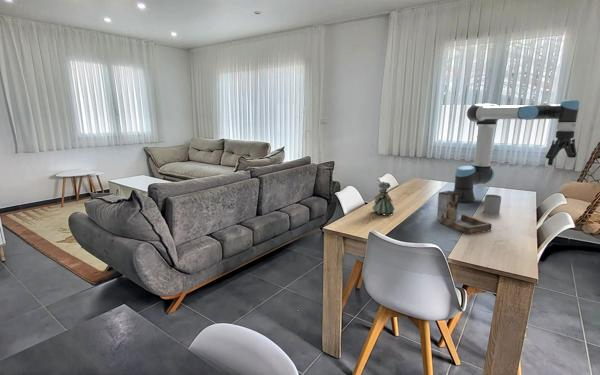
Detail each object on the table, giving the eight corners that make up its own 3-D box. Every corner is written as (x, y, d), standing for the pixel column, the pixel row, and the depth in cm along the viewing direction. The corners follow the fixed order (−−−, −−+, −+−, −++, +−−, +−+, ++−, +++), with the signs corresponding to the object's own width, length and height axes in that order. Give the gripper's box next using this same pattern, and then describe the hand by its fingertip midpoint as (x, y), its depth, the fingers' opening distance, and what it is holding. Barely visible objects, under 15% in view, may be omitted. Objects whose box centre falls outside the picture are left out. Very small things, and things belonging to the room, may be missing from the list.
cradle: (440, 223, 175) (440, 217, 174) (463, 219, 180) (463, 214, 179) (466, 234, 158) (467, 228, 158) (490, 230, 163) (491, 224, 163)
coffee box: (447, 216, 186) (449, 190, 182) (456, 219, 181) (459, 192, 177) (436, 219, 182) (438, 192, 178) (445, 222, 176) (448, 194, 173)
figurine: (365, 213, 195) (366, 181, 190) (377, 208, 205) (378, 178, 200) (387, 218, 185) (388, 185, 181) (398, 212, 195) (400, 181, 191)
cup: (498, 210, 195) (500, 195, 193) (500, 214, 188) (502, 198, 185) (482, 209, 198) (484, 194, 196) (483, 213, 191) (485, 197, 189)
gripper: (556, 131, 160) (550, 173, 165) (589, 130, 168) (582, 169, 172) (541, 131, 167) (535, 170, 172) (573, 129, 174) (567, 167, 179)
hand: (558, 170), depth 172 cm, fingers open, 13 cm apart
